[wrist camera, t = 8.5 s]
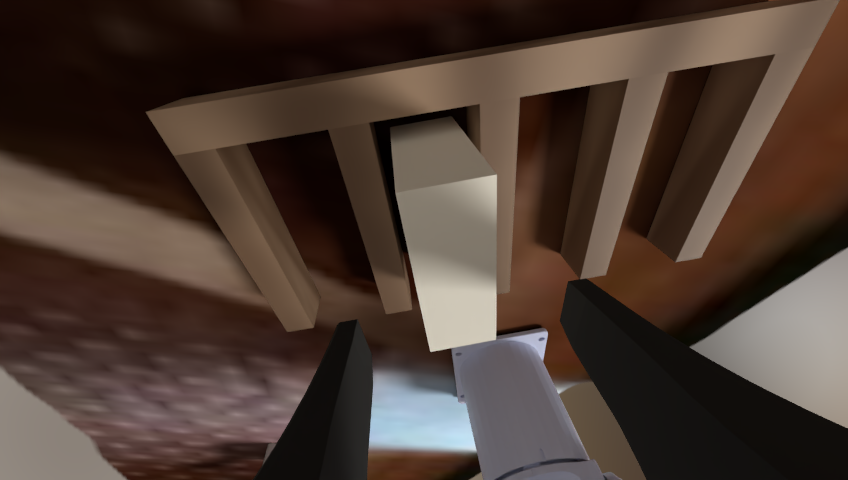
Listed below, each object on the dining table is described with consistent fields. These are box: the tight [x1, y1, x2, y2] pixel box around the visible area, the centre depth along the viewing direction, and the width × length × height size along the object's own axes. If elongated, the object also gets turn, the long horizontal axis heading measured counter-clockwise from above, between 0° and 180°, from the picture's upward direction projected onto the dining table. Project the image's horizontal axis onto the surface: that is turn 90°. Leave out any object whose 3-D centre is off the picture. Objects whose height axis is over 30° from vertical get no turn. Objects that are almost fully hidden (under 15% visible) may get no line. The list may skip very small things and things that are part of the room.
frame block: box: [390, 116, 497, 352], centre depth 14 cm, size 8×3×7 cm, turn 8°
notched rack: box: [146, 0, 839, 332], centre depth 16 cm, size 26×13×2 cm, turn 97°
